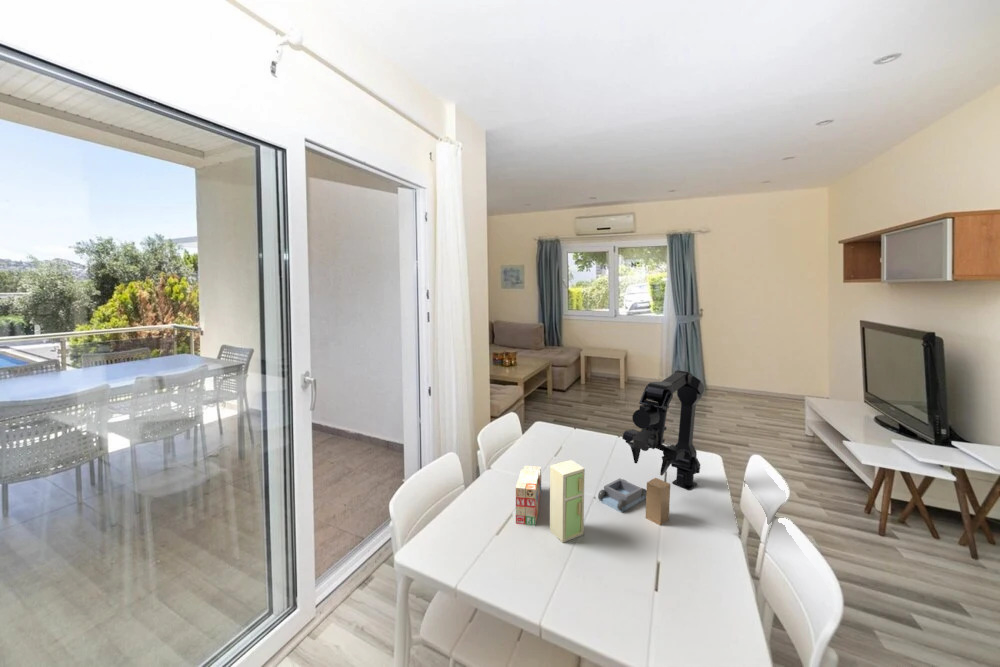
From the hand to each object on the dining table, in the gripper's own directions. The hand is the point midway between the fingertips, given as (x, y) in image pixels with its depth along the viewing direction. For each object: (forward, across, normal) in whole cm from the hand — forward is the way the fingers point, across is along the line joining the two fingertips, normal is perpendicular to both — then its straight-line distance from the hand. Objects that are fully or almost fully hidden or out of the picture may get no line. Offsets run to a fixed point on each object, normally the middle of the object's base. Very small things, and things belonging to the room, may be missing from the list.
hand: (648, 469), depth 125 cm
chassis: (+15, -8, +1) cm, 17 cm away
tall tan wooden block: (+14, +5, 0) cm, 15 cm away
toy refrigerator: (+18, -7, -28) cm, 34 cm away
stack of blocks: (+19, -25, -27) cm, 41 cm away
